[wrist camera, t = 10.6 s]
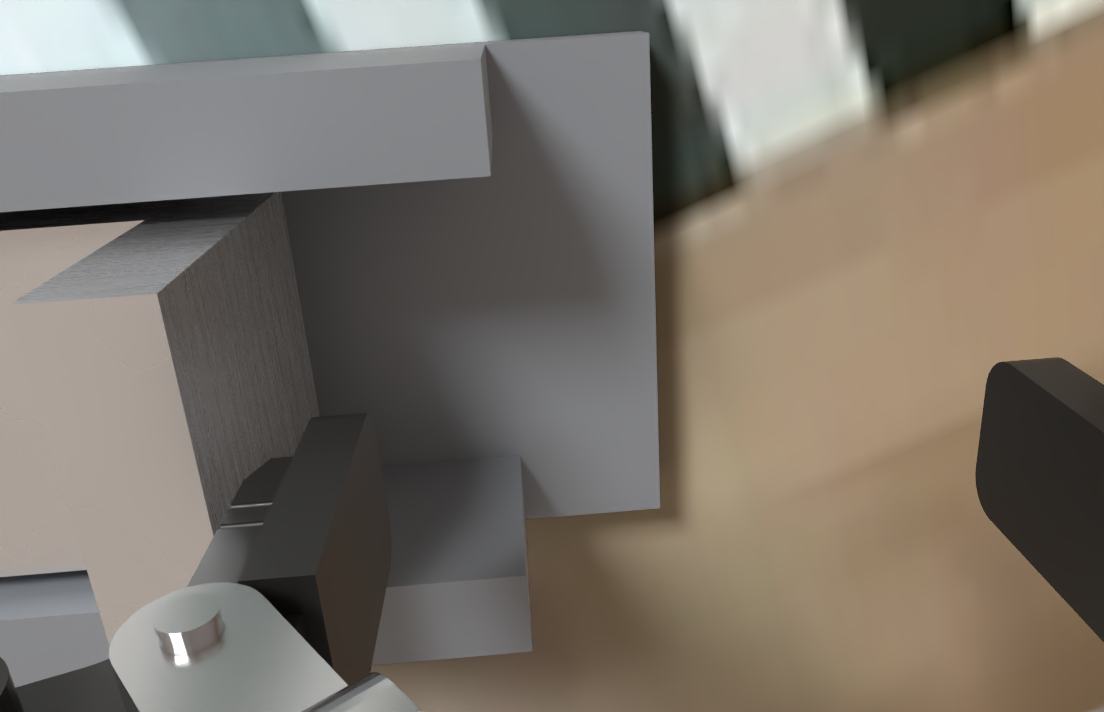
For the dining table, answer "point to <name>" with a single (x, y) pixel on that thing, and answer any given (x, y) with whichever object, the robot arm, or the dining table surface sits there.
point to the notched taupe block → (142, 384)
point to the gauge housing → (404, 289)
